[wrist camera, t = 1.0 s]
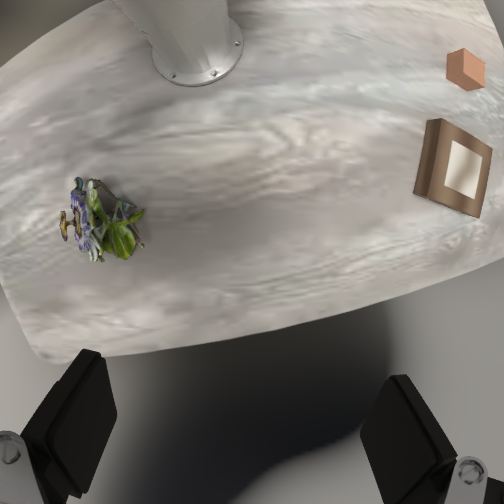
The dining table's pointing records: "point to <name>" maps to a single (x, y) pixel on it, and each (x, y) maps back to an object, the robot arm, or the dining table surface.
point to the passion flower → (117, 232)
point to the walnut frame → (453, 168)
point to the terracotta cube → (465, 70)
